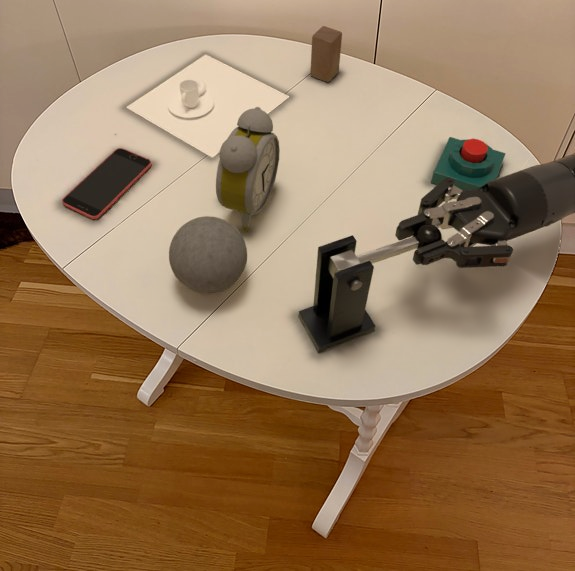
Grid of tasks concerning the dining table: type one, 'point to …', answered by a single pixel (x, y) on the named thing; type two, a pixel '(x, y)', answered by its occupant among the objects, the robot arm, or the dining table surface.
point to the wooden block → (325, 53)
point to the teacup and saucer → (205, 103)
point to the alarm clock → (248, 165)
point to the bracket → (338, 299)
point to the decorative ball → (208, 255)
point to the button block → (466, 166)
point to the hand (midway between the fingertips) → (406, 245)
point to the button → (474, 150)
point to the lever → (386, 249)
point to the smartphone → (106, 183)
